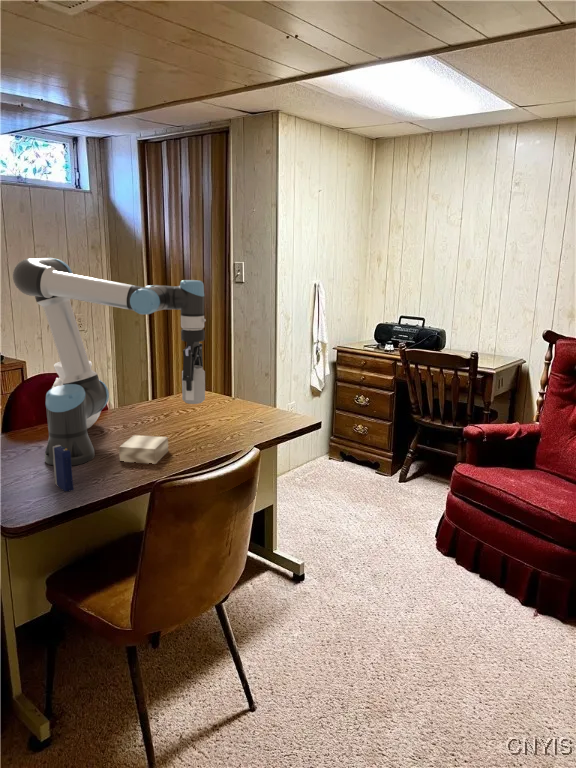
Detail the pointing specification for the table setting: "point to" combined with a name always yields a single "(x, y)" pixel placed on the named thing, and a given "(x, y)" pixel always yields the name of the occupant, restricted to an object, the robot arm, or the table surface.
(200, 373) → the can
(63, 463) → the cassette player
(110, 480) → the table surface
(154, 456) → the pedestal
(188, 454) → the table surface
